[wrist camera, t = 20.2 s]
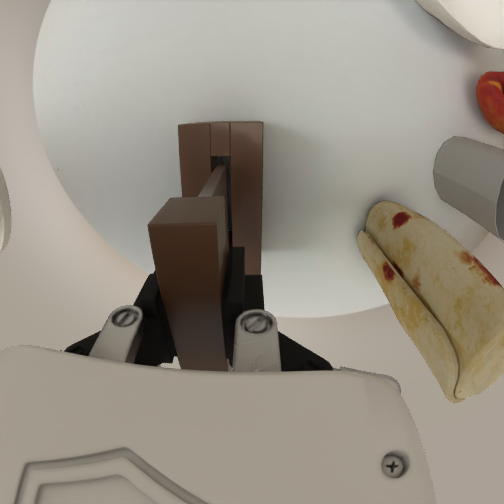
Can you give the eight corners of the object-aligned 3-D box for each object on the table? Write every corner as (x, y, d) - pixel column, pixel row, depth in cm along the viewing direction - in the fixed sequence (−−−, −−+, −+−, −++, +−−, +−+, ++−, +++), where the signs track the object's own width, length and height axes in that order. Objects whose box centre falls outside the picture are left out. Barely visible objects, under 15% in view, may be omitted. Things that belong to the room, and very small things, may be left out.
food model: (405, 260, 29) (499, 392, 11) (356, 276, 30) (431, 433, 12) (402, 182, 24) (553, 297, 7) (345, 196, 25) (479, 352, 7)
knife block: (199, 252, 28) (191, 280, 23) (191, 123, 22) (177, 124, 17) (258, 252, 28) (260, 280, 23) (260, 120, 22) (263, 121, 17)
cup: (486, 158, 22) (543, 183, 13) (464, 214, 26) (516, 252, 17) (447, 123, 21) (514, 139, 12) (423, 188, 24) (483, 225, 16)
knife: (213, 258, 22) (187, 389, 11) (207, 156, 18) (146, 224, 7) (238, 258, 22) (230, 391, 11) (236, 156, 18) (216, 222, 7)
